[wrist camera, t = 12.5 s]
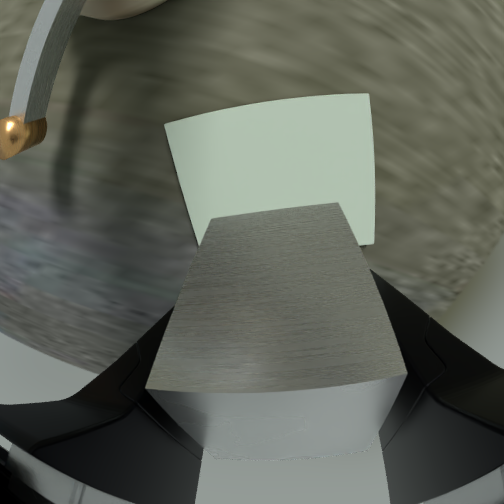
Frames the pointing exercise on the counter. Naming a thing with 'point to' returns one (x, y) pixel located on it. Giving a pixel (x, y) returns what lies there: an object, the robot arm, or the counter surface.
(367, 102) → the mat
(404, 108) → the counter surface
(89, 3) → the base
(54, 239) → the counter surface
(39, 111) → the crank handle
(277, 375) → the grey rectangular block
